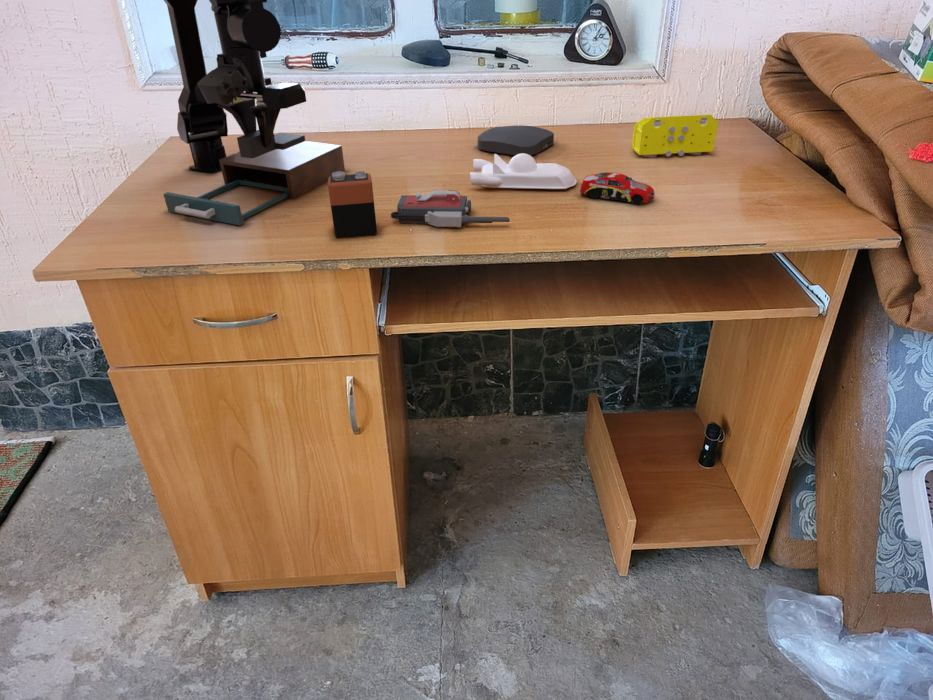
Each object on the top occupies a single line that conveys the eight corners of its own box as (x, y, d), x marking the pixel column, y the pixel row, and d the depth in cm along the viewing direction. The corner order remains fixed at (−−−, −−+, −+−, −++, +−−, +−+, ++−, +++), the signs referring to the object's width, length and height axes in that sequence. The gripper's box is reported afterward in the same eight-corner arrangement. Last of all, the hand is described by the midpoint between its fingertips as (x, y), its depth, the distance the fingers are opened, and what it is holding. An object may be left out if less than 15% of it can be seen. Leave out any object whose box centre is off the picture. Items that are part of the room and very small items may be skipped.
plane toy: (578, 194, 119) (580, 163, 116) (469, 193, 121) (469, 162, 118) (574, 175, 128) (577, 146, 125) (473, 175, 129) (473, 146, 126)
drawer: (230, 230, 108) (225, 212, 106) (157, 216, 114) (152, 198, 112) (301, 193, 122) (299, 176, 120) (234, 182, 128) (230, 165, 127)
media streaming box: (471, 150, 144) (470, 136, 142) (503, 134, 154) (503, 121, 152) (529, 159, 137) (530, 145, 135) (559, 142, 147) (560, 128, 146)
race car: (656, 198, 117) (660, 176, 115) (649, 208, 113) (652, 185, 111) (586, 187, 122) (588, 166, 120) (577, 196, 118) (578, 175, 116)
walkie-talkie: (388, 229, 108) (509, 230, 106) (386, 203, 105) (509, 204, 104) (397, 209, 115) (510, 210, 113) (395, 185, 112) (511, 185, 111)
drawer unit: (293, 198, 120) (288, 170, 117) (225, 187, 127) (219, 159, 124) (345, 171, 133) (341, 145, 130) (281, 162, 139) (276, 137, 136)
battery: (335, 229, 108) (326, 170, 103) (376, 225, 109) (369, 166, 103) (335, 239, 104) (326, 178, 99) (377, 235, 105) (371, 175, 100)
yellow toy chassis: (639, 159, 136) (644, 118, 131) (630, 151, 140) (635, 111, 136) (713, 155, 137) (720, 114, 132) (702, 148, 141) (709, 108, 137)
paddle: (234, 156, 109) (229, 136, 107) (281, 138, 118) (277, 119, 116) (259, 159, 107) (255, 139, 105) (305, 140, 116) (302, 122, 114)
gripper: (156, 50, 99) (183, 153, 107) (249, 56, 92) (271, 165, 100) (210, 40, 107) (231, 136, 116) (300, 44, 100) (315, 146, 108)
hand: (260, 146), depth 110 cm, fingers closed on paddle, 2 cm apart
